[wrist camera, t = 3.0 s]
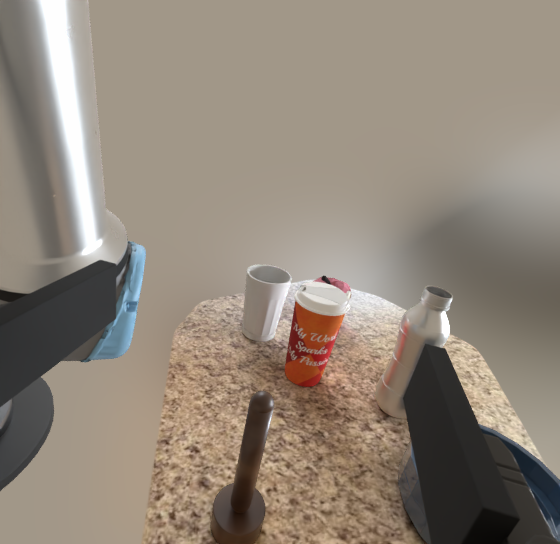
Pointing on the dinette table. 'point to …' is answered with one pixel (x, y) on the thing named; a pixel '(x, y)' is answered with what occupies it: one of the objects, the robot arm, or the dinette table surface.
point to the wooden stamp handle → (245, 481)
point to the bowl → (543, 483)
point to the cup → (264, 301)
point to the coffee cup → (314, 331)
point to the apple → (336, 284)
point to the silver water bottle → (413, 347)
